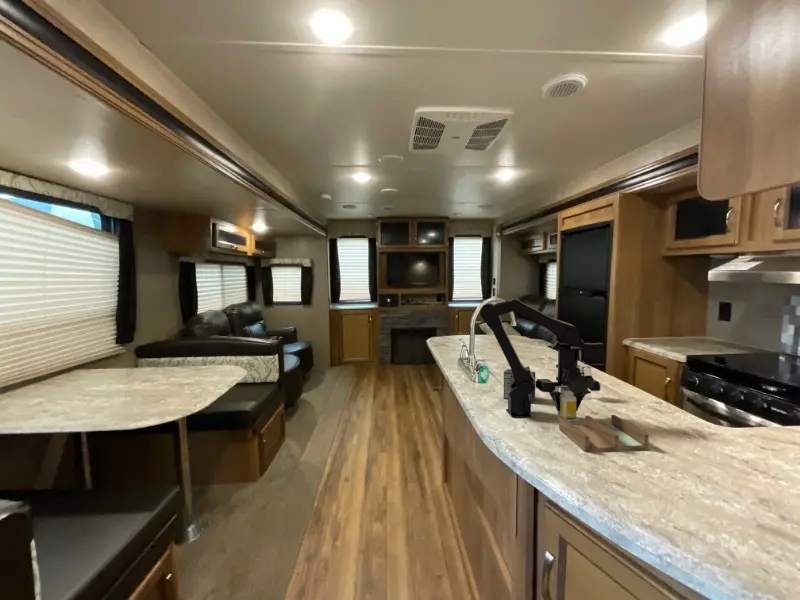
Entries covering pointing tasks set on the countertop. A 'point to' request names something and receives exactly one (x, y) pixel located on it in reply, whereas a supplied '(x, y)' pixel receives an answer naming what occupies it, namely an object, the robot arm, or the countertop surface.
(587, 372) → the wineglass
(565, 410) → the supplement bottle
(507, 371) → the small box
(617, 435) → the slot rack
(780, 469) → the countertop surface
